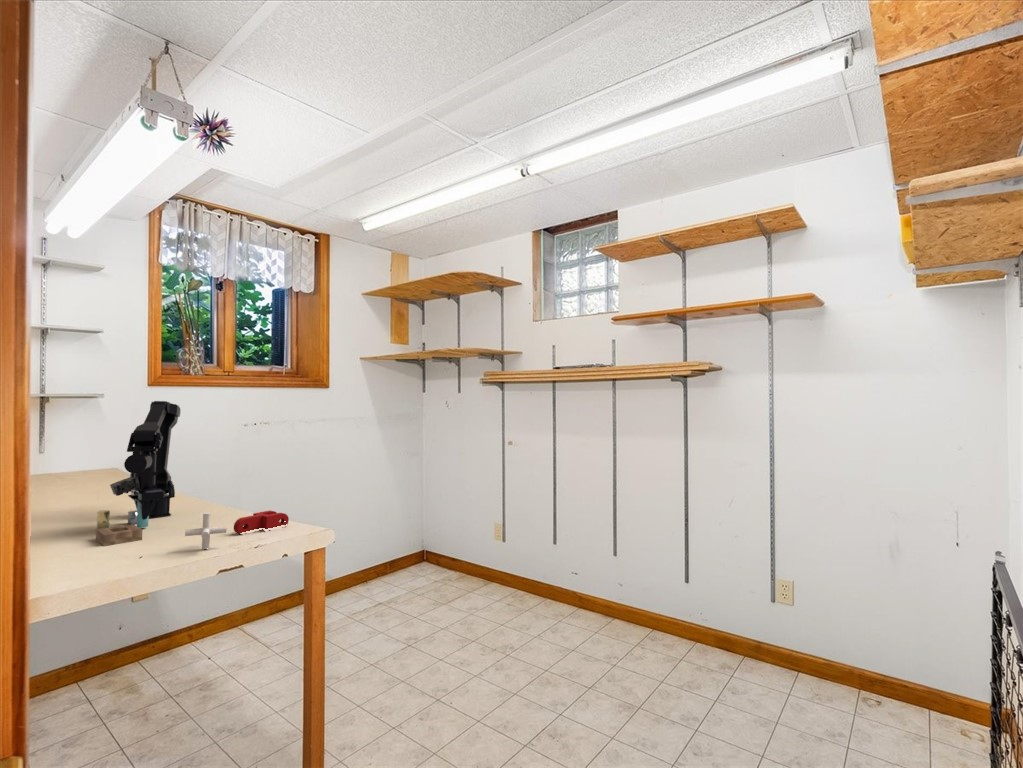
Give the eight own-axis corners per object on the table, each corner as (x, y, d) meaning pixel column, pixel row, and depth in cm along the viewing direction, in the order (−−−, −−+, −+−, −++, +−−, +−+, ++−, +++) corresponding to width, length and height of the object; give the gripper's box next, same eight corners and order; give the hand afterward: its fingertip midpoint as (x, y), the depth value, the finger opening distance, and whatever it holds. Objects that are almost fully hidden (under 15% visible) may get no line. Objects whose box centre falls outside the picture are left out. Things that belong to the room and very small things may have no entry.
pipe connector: (183, 556, 142) (184, 518, 142) (186, 546, 151) (187, 510, 151) (225, 552, 147) (226, 515, 147) (226, 542, 155) (227, 508, 156)
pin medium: (107, 529, 166) (108, 509, 166) (110, 530, 164) (111, 511, 164) (95, 530, 164) (96, 511, 164) (98, 532, 162) (99, 512, 162)
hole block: (132, 533, 162) (132, 524, 162) (142, 539, 156) (142, 529, 156) (95, 539, 155) (96, 529, 155) (104, 545, 149) (104, 535, 149)
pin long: (146, 524, 170) (147, 496, 170) (149, 526, 168) (150, 497, 168) (135, 526, 168) (136, 497, 168) (138, 528, 166) (139, 499, 166)
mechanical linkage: (274, 524, 179) (275, 509, 179) (288, 527, 175) (288, 512, 175) (228, 534, 165) (229, 518, 165) (242, 537, 162) (243, 521, 162)
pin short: (137, 522, 176) (137, 510, 176) (140, 523, 174) (140, 511, 174) (126, 523, 173) (126, 511, 173) (129, 525, 171) (129, 512, 172)
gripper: (105, 467, 168) (103, 517, 168) (123, 474, 156) (121, 528, 156) (146, 464, 176) (144, 512, 176) (166, 471, 165) (164, 521, 164)
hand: (142, 518), depth 168 cm, fingers closed on pin long, 3 cm apart
